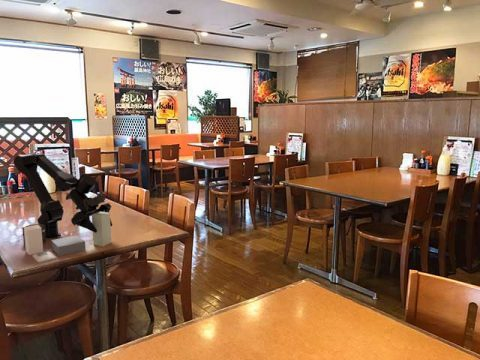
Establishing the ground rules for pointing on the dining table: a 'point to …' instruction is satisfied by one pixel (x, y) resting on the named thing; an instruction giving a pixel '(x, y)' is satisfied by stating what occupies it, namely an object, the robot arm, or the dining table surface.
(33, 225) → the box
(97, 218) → the sage block
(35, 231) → the white block
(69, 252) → the slate base
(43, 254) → the plaque
